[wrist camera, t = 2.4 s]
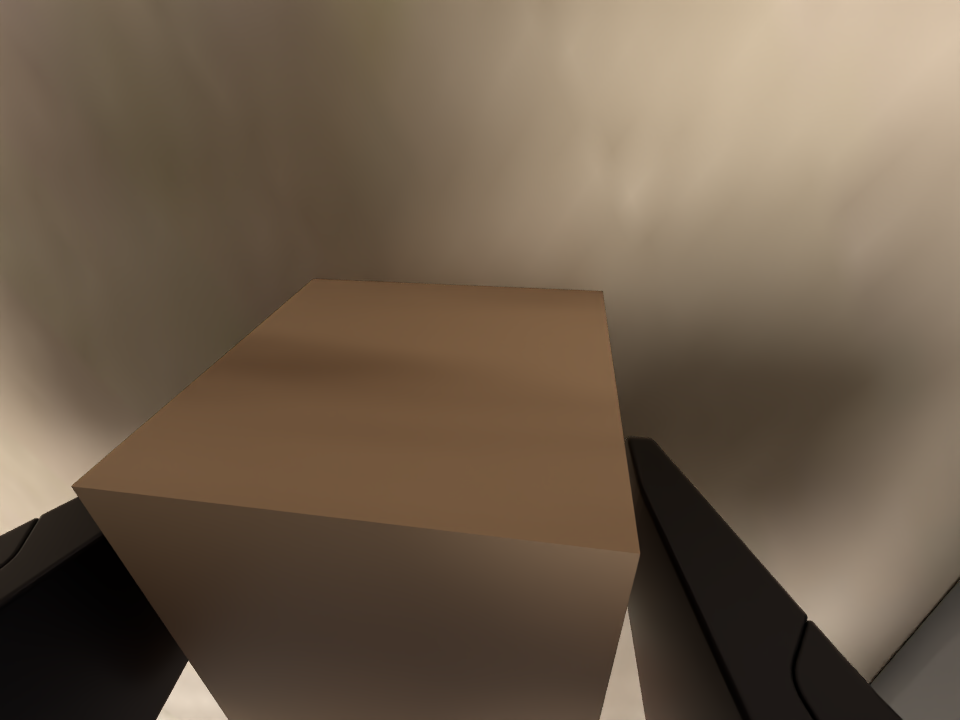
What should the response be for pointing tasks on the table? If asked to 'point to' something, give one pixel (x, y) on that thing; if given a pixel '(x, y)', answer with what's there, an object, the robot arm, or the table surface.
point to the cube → (389, 508)
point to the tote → (927, 667)
